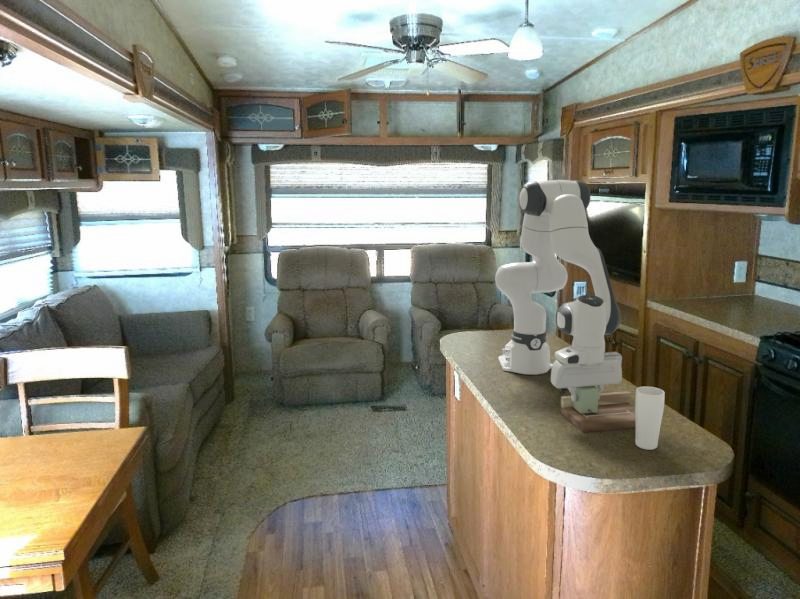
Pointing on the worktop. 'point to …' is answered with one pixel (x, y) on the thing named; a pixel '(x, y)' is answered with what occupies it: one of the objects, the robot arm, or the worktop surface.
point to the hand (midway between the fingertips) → (585, 399)
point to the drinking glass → (648, 416)
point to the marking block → (586, 399)
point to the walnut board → (602, 413)
